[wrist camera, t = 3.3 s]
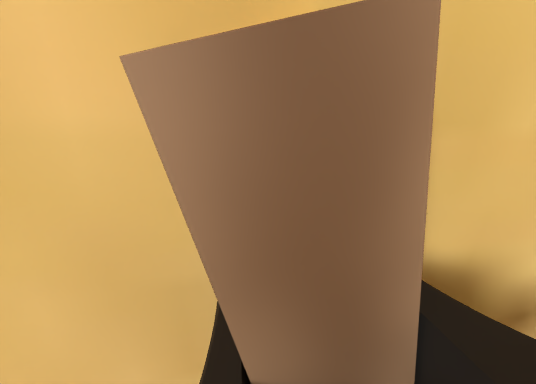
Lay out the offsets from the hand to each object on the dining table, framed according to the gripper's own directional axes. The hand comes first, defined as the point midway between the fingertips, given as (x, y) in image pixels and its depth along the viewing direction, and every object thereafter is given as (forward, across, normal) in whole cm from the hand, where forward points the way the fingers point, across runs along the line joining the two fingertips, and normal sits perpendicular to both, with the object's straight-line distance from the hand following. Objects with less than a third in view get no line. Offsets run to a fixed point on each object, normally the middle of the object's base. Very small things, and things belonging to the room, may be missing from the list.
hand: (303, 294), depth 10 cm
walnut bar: (+2, 0, 0) cm, 2 cm away
